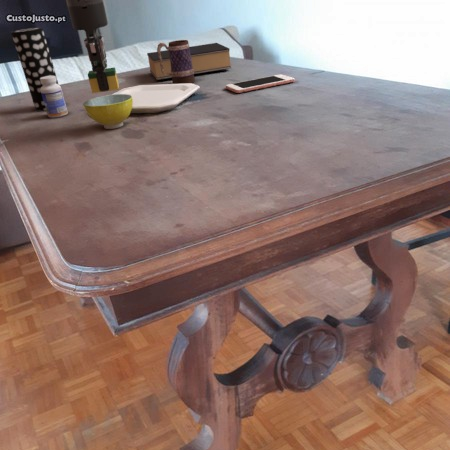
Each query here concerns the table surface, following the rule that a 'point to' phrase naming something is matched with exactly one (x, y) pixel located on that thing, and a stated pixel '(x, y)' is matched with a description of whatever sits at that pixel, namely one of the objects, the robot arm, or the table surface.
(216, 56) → the book
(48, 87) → the pill bottle
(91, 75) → the sponge
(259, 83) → the cell phone
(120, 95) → the bowl
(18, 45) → the white-spotted black cylinder
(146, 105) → the plate
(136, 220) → the table surface
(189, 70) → the mug
